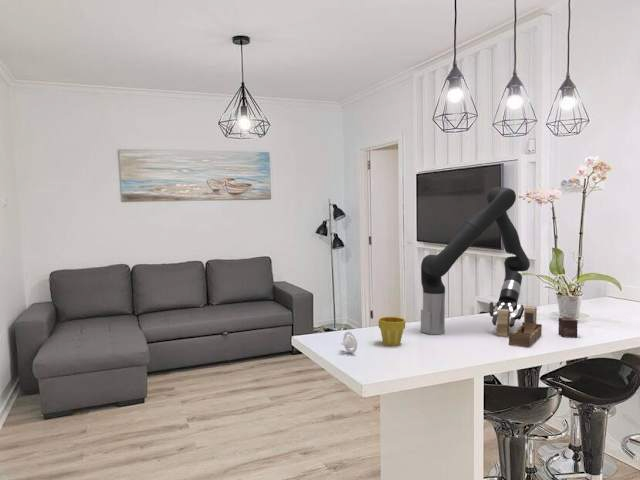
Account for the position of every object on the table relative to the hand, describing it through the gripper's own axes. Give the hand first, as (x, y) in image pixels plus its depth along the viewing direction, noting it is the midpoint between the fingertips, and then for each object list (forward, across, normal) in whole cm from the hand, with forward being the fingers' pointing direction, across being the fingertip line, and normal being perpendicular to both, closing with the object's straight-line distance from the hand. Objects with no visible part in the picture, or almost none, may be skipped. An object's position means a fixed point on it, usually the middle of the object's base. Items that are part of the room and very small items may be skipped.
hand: (502, 325), depth 212 cm
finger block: (+2, 0, +5) cm, 5 cm away
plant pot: (+29, -33, -22) cm, 49 cm away
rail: (+4, +9, +3) cm, 10 cm away
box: (-8, +22, +15) cm, 28 cm away
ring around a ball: (+44, -41, -37) cm, 70 cm away
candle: (-31, -5, +38) cm, 49 cm away
